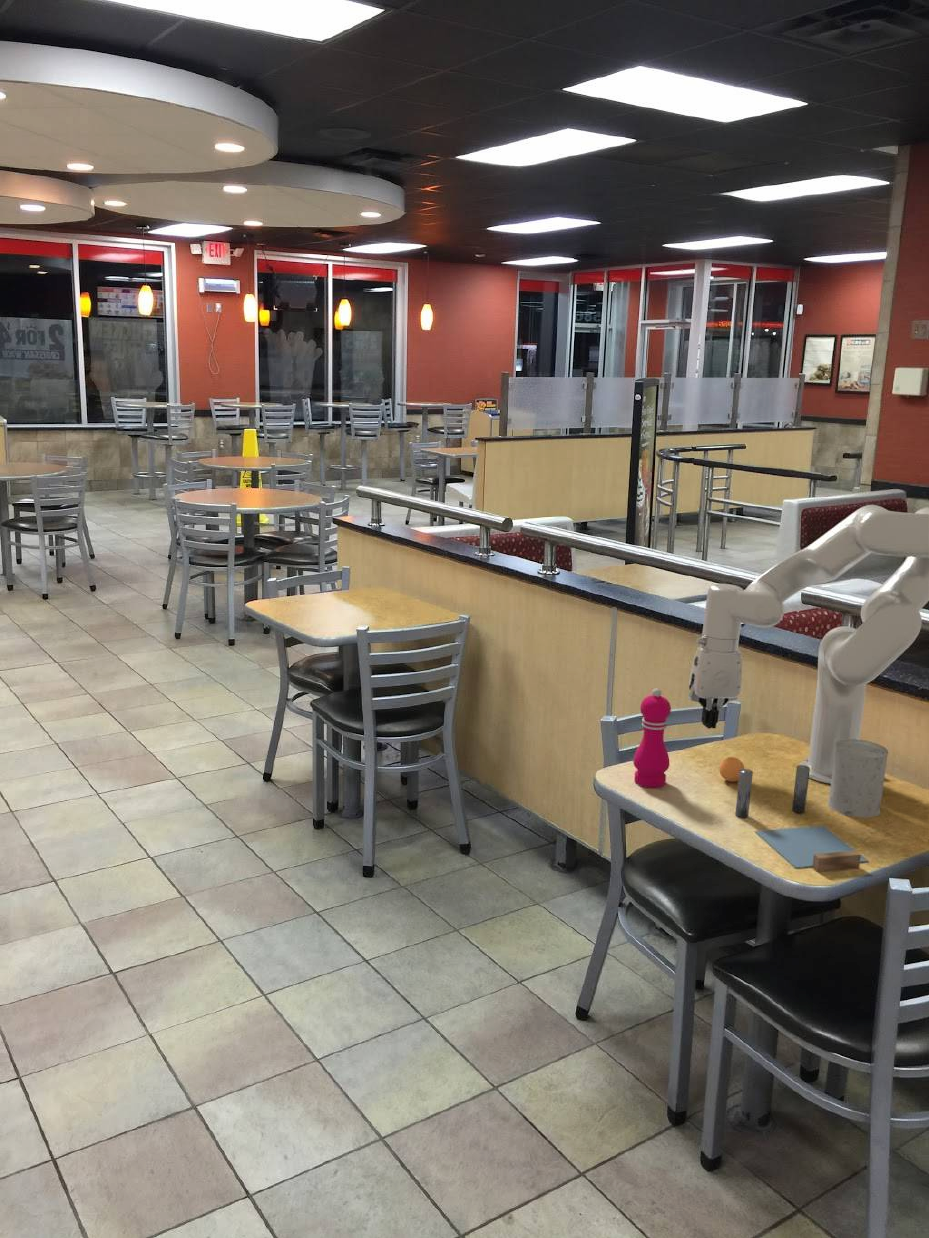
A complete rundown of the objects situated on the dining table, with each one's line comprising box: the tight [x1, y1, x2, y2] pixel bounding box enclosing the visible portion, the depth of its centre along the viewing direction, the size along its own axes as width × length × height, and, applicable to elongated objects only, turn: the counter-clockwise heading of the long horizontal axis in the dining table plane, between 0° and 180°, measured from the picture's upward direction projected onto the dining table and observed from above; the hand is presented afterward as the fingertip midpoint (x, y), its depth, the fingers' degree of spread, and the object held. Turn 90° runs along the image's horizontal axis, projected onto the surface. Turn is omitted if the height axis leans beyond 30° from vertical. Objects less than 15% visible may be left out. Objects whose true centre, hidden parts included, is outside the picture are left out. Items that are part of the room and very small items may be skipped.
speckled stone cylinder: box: [827, 739, 889, 819], centre depth 196 cm, size 10×10×12 cm
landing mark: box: [754, 825, 869, 869], centre depth 181 cm, size 14×14×1 cm
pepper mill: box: [633, 687, 672, 789], centre depth 205 cm, size 7×7×20 cm
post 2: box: [791, 764, 810, 815], centre depth 194 cm, size 2×2×9 cm
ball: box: [718, 756, 745, 783], centre depth 208 cm, size 5×5×5 cm
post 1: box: [734, 768, 754, 819], centre depth 191 cm, size 2×2×9 cm
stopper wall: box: [811, 850, 862, 873], centre depth 173 cm, size 8×2×2 cm, turn 103°
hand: (708, 726), depth 216 cm, fingers closed
